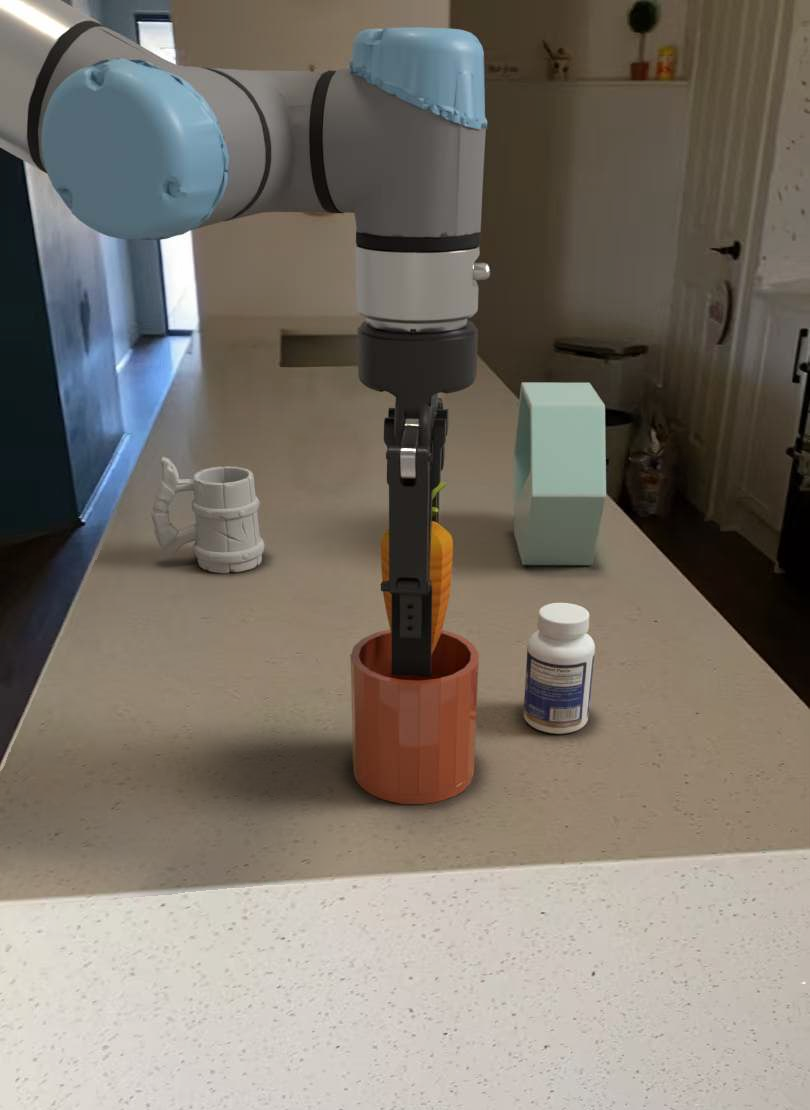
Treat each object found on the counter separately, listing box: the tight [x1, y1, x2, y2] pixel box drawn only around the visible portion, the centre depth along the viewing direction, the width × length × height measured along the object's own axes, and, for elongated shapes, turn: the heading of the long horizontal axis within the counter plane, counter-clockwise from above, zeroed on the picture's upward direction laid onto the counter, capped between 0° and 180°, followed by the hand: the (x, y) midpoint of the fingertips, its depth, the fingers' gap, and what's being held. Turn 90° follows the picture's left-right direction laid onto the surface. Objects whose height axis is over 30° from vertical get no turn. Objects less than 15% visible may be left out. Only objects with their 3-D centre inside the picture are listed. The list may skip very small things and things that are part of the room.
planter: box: [513, 381, 607, 566], centre depth 121 cm, size 17×8×21 cm
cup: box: [350, 628, 480, 805], centre depth 81 cm, size 9×9×10 cm
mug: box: [150, 456, 266, 574], centre depth 118 cm, size 8×12×12 cm, turn 101°
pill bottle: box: [523, 602, 596, 735], centre depth 88 cm, size 5×5×10 cm
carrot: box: [380, 480, 454, 655], centre depth 76 cm, size 5×5×15 cm
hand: (414, 654), depth 79 cm, fingers closed on carrot, 5 cm apart
